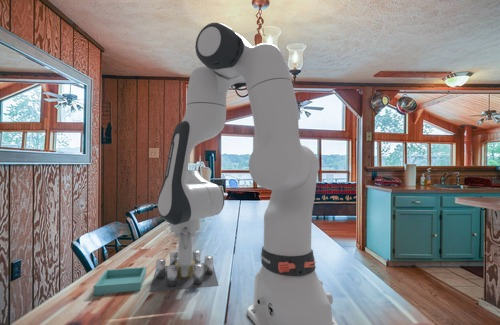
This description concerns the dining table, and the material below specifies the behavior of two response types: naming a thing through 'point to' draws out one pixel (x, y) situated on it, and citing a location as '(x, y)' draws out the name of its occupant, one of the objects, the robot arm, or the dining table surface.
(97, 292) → the parts tray
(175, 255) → the steel spacers
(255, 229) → the dining table surface
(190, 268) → the brass nut
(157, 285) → the mat
